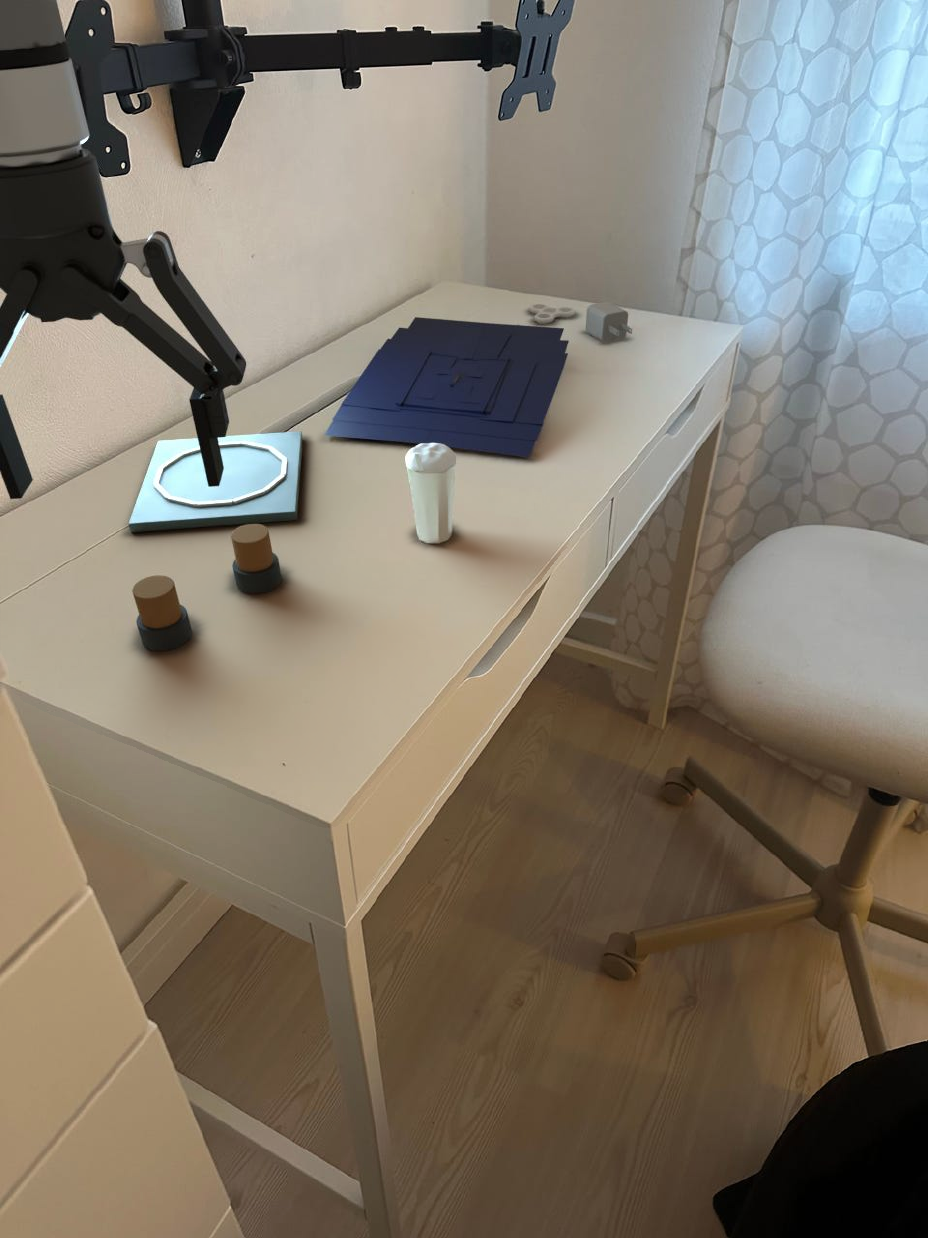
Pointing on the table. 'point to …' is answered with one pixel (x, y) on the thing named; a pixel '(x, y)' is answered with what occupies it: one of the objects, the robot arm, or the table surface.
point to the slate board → (221, 483)
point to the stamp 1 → (160, 614)
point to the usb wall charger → (607, 322)
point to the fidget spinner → (549, 312)
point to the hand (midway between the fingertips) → (119, 483)
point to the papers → (457, 386)
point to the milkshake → (432, 490)
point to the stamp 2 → (254, 559)
